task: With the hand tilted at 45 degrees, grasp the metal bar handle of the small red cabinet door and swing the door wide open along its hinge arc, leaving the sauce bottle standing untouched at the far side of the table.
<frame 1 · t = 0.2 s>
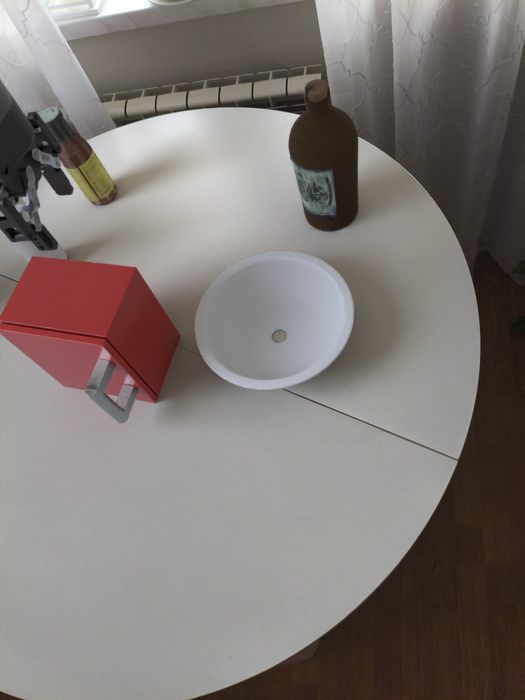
hand: (58, 220, 68), 29 cm above the table, tool pointing down, fingers open, 8 cm apart
red cabinet door: (74, 382, 79), point 10 cm above the table, hinge at 0.0°
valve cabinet: (123, 357, 91), on the table
sauce bottle: (103, 196, 111), on the table
travel mug: (55, 267, 104), on the table
white sink basin: (279, 337, 88), on the table
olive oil: (331, 212, 98), on the table
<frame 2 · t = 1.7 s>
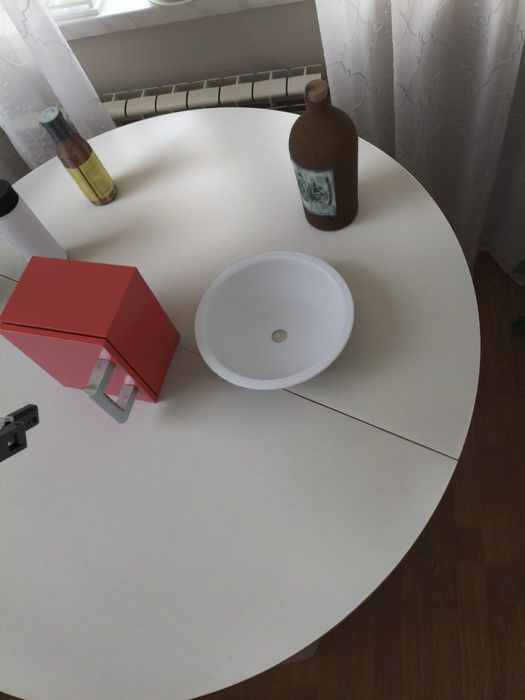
hand: (1, 407, 58), 27 cm above the table, tool tilted 45°, fingers open, 8 cm apart
nothing on the table moved.
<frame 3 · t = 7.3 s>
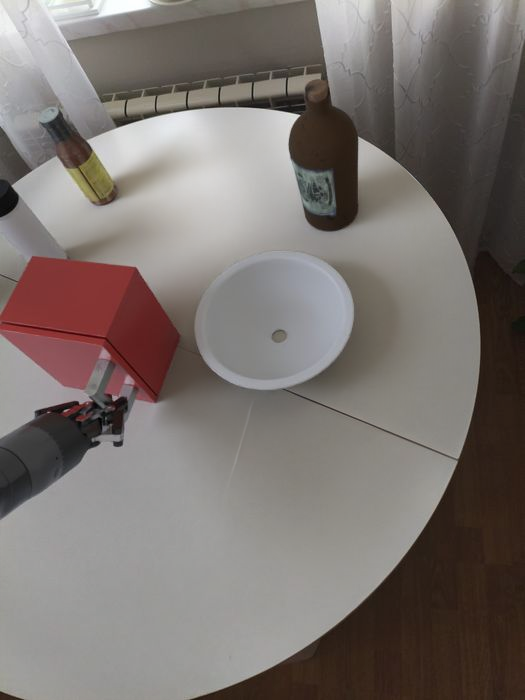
hand: (117, 401, 79), 7 cm above the table, tool tilted 45°, fingers closed on red cabinet door, 2 cm apart
red cabinet door: (74, 382, 79), point 10 cm above the table, hinge at 0.0°, touching gripper
everything else where it was.
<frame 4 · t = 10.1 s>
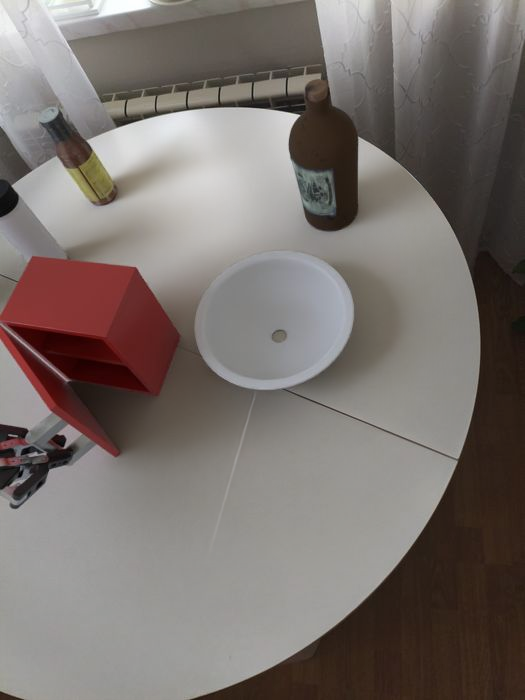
hand: (67, 447, 77), 7 cm above the table, tool tilted 45°, fingers closed on red cabinet door, 2 cm apart
red cabinet door: (44, 406, 78), point 10 cm above the table, hinge at 34.3°, touching gripper
everything else where it was.
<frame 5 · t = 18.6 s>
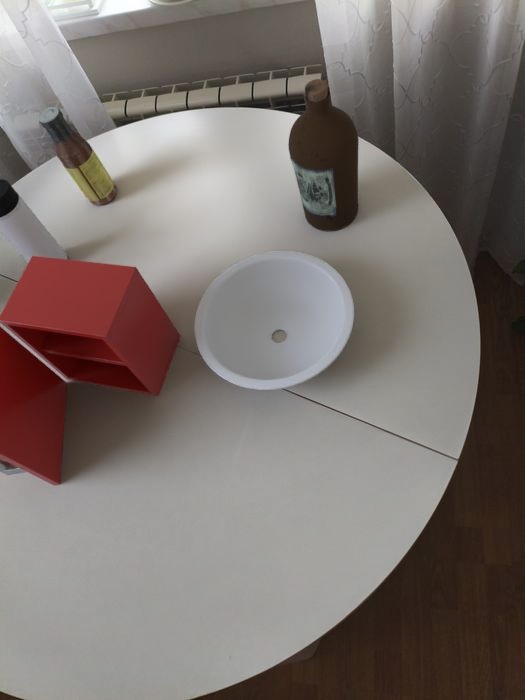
red cabinet door: (10, 412, 79), point 10 cm above the table, hinge at 68.5°
everything else where it was.
at the end: red cabinet door at +68° (first picture: +0°); sauce bottle tilted 0°; sauce bottle moved 0.2 cm from its start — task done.
